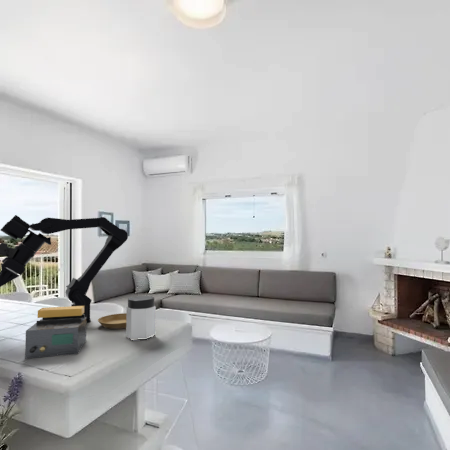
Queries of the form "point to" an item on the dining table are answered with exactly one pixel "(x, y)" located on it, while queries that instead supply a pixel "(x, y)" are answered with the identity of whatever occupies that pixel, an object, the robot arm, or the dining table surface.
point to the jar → (140, 317)
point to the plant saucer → (113, 321)
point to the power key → (61, 311)
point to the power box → (56, 336)
